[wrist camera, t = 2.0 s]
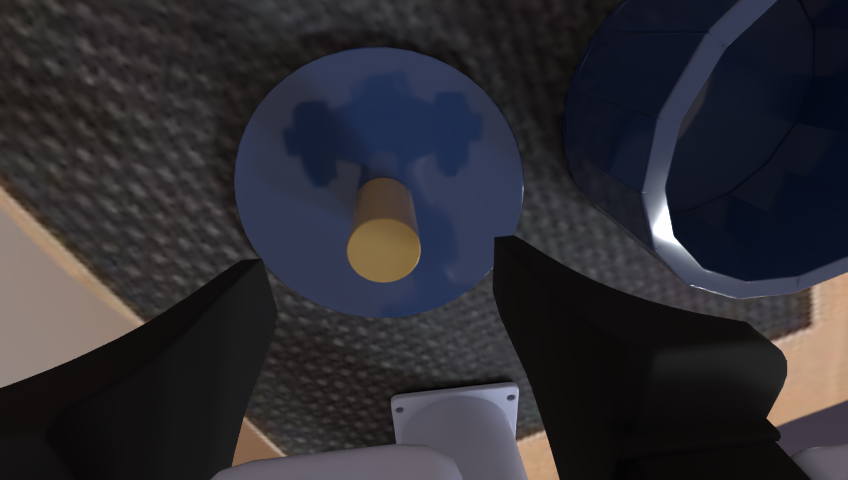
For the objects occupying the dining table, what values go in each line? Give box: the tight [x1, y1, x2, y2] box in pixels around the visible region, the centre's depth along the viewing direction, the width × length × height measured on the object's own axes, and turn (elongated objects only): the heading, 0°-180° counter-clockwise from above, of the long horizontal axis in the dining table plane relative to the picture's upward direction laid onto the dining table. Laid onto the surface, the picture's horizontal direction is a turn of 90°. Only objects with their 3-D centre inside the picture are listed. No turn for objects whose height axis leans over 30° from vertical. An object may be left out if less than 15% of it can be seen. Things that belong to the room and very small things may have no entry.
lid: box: [234, 46, 524, 318], centre depth 16 cm, size 13×13×5 cm
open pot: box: [562, 0, 848, 299], centre depth 15 cm, size 12×12×6 cm
